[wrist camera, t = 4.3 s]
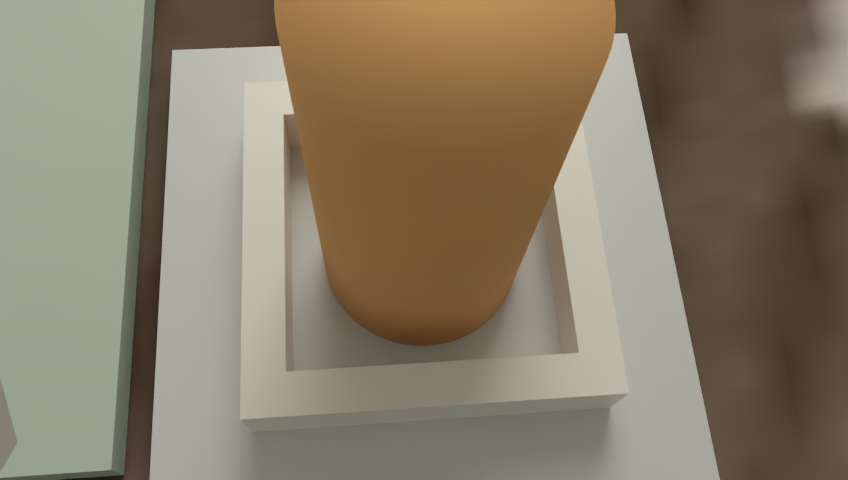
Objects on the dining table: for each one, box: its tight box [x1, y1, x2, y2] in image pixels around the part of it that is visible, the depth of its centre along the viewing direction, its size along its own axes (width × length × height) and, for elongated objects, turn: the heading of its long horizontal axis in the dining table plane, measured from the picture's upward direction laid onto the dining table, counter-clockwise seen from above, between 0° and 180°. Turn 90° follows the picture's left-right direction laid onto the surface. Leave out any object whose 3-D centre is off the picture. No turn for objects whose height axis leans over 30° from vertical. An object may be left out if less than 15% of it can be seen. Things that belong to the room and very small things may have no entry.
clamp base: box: [150, 33, 720, 480], centre depth 25 cm, size 16×16×3 cm
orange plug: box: [274, 0, 616, 346], centre depth 20 cm, size 6×6×12 cm
